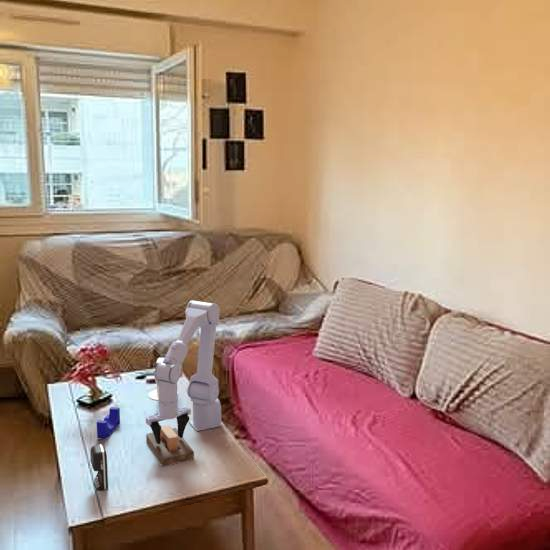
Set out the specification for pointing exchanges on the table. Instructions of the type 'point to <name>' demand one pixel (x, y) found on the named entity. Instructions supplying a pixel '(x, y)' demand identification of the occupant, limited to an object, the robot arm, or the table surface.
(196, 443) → the table surface
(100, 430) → the blue cradle block
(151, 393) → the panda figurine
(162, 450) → the brown board with holes
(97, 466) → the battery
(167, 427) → the prong clip
